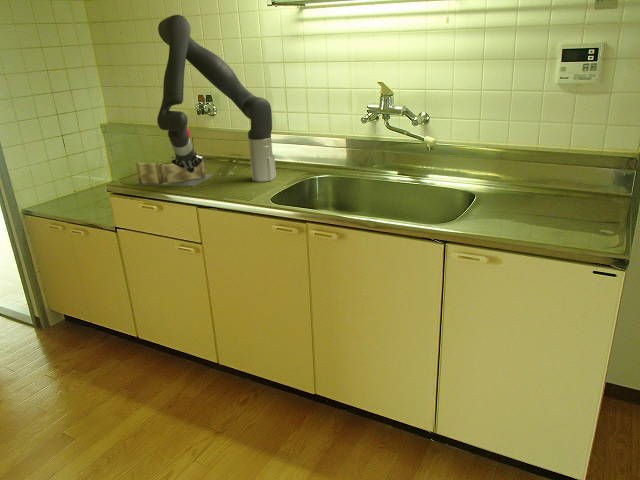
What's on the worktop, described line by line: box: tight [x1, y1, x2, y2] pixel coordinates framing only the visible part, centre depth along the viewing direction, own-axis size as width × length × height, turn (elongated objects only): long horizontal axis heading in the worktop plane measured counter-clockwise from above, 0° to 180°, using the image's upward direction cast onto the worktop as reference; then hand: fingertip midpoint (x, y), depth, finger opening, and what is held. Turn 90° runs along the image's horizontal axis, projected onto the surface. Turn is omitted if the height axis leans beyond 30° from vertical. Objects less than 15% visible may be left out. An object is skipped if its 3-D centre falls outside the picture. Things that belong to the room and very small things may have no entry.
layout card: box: [133, 173, 214, 188], centre depth 233 cm, size 28×18×1 cm, turn 74°
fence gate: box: [160, 160, 206, 183], centre depth 227 cm, size 17×2×8 cm, turn 108°
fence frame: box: [135, 161, 163, 184], centre depth 227 cm, size 11×2×9 cm, turn 74°
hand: (191, 170), depth 227 cm, fingers closed
